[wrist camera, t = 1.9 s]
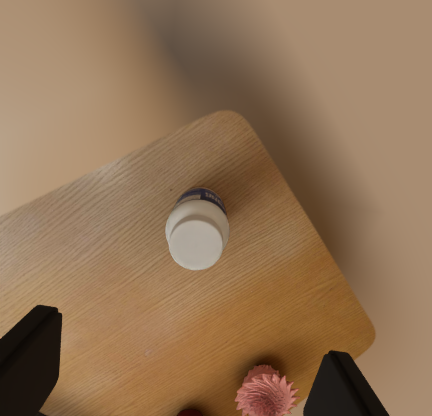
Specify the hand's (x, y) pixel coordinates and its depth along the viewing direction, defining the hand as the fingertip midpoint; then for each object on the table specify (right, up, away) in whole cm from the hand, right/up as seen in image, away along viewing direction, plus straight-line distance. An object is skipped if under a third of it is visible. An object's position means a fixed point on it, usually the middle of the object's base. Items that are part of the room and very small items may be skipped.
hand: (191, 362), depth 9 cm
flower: (+7, -17, +25) cm, 31 cm away
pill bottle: (-1, +5, +19) cm, 20 cm away
